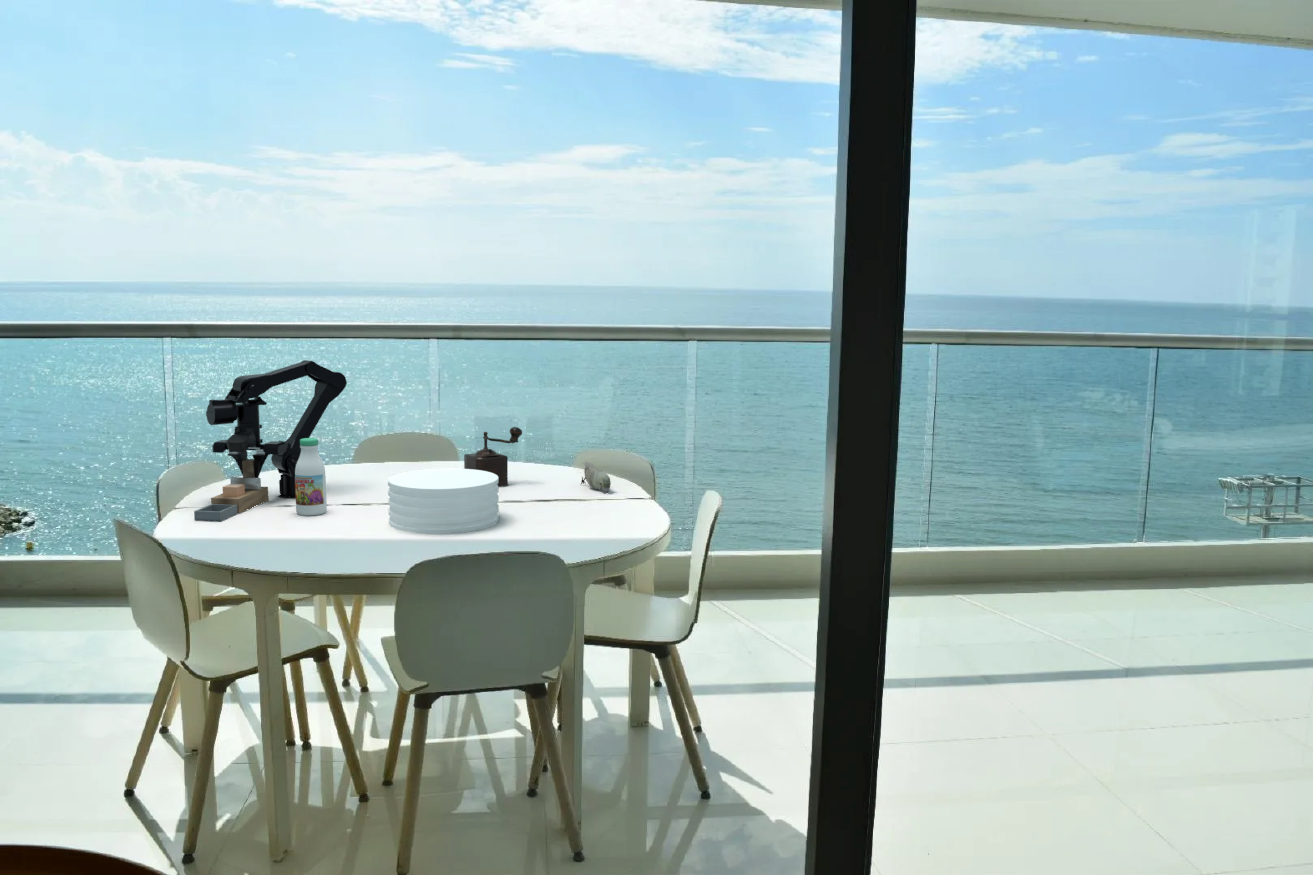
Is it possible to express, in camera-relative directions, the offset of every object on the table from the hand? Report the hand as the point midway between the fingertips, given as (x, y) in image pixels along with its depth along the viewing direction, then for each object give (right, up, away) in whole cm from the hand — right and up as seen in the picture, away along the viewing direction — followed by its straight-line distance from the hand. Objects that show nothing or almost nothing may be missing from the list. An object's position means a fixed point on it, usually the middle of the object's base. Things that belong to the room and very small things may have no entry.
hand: (250, 477), depth 276 cm
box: (-2, -10, -18) cm, 20 cm away
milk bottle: (+21, -9, -11) cm, 25 cm away
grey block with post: (0, -3, -1) cm, 3 cm away
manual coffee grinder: (+62, -4, +31) cm, 70 cm away
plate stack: (+57, -11, -17) cm, 61 cm away
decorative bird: (+94, -5, +27) cm, 98 cm away
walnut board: (-1, -8, -5) cm, 9 cm away
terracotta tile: (-1, -4, -9) cm, 10 cm away
